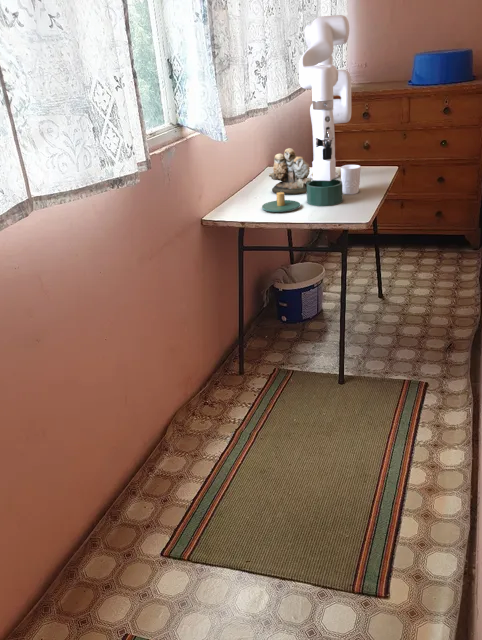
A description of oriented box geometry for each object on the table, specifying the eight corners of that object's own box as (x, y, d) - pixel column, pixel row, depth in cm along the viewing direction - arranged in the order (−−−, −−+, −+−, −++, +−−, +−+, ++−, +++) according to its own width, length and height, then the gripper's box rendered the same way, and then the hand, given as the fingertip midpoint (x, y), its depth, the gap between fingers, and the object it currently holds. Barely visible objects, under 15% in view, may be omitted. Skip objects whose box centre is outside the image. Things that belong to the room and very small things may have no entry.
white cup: (359, 194, 241) (359, 168, 236) (339, 194, 243) (339, 169, 238) (361, 189, 248) (361, 164, 243) (341, 190, 250) (341, 164, 244)
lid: (258, 206, 236) (256, 191, 233) (293, 201, 239) (293, 186, 236) (267, 215, 224) (266, 200, 221) (305, 210, 227) (304, 194, 224)
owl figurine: (266, 195, 250) (263, 151, 241) (273, 188, 260) (270, 146, 251) (309, 194, 246) (308, 150, 237) (314, 187, 256) (313, 145, 247)
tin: (302, 199, 240) (301, 181, 237) (335, 195, 243) (334, 177, 239) (313, 207, 229) (313, 189, 225) (347, 203, 232) (347, 184, 228)
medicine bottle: (318, 176, 236) (317, 143, 229) (335, 176, 233) (335, 144, 227) (312, 180, 230) (311, 147, 224) (330, 181, 228) (330, 147, 221)
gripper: (341, 107, 212) (341, 160, 221) (324, 102, 226) (325, 153, 236) (321, 109, 210) (322, 163, 220) (305, 104, 225) (307, 155, 234)
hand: (323, 157), depth 228 cm, fingers closed on medicine bottle, 6 cm apart
